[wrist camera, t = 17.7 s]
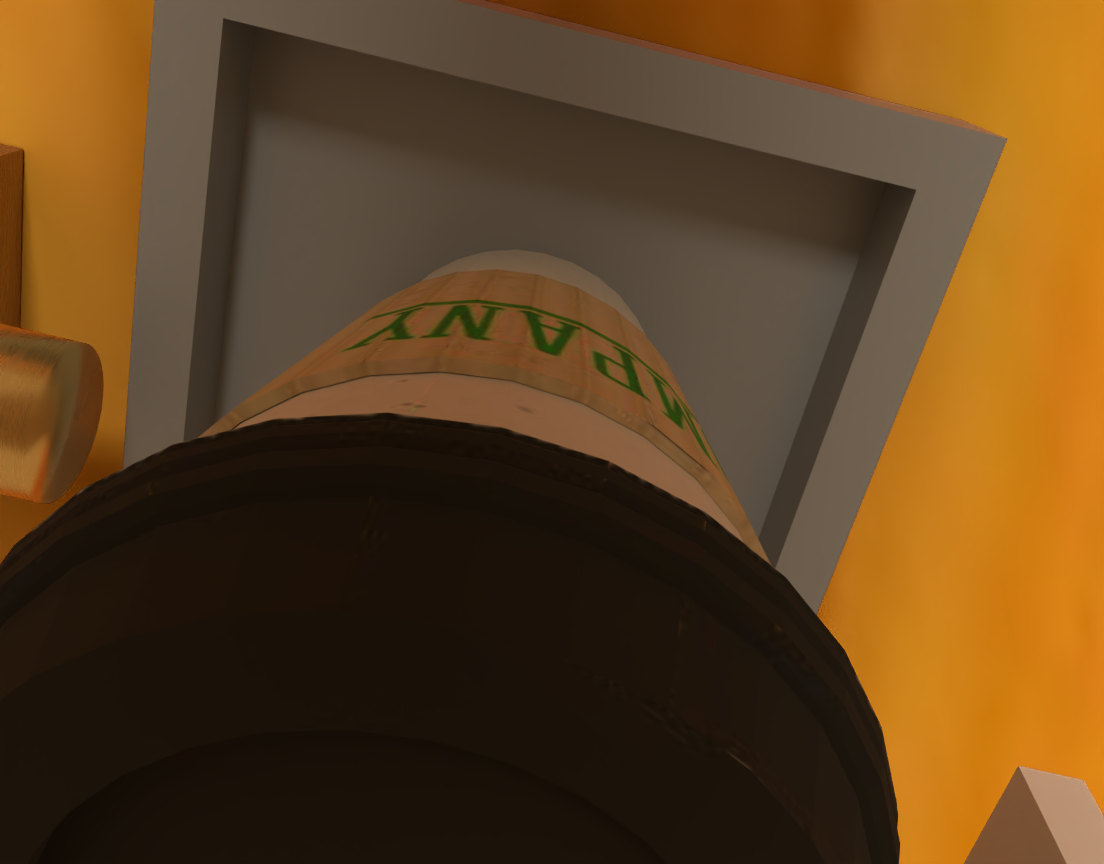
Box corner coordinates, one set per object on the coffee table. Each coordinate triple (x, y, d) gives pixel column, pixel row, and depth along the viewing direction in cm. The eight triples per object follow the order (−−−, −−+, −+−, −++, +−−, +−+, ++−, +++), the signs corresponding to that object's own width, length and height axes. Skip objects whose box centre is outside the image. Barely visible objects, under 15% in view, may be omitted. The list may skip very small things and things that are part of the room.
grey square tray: (211, -69, 20) (159, -74, 18) (963, 120, 21) (1007, 138, 18) (155, 583, 26) (110, 642, 24) (737, 713, 27) (749, 782, 24)
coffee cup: (799, 509, 24) (1062, 1259, 10) (404, 631, 25) (164, 1404, 12) (654, 81, 20) (750, 320, 6) (209, 260, 22) (-462, 743, 8)
